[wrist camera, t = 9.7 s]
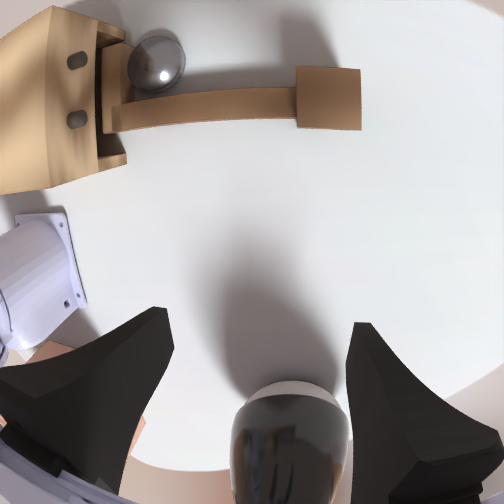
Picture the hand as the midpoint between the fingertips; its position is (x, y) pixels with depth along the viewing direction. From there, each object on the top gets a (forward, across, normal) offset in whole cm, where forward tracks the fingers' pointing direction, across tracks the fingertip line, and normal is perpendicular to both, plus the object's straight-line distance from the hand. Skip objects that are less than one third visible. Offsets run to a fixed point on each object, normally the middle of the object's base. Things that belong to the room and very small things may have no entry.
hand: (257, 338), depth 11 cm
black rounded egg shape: (+11, -2, +16) cm, 19 cm away
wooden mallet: (+10, +4, -11) cm, 16 cm away
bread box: (+10, +16, -11) cm, 22 cm away
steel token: (+11, +8, -12) cm, 18 cm away
